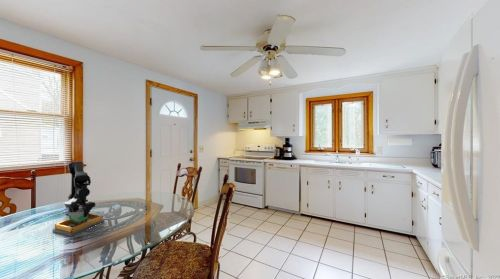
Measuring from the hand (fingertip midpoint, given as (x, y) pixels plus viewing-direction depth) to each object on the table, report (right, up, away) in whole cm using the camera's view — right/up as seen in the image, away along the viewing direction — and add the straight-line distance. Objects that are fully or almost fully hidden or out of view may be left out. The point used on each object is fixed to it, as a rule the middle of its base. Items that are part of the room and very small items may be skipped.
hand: (80, 216), depth 133 cm
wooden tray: (0, -8, 0) cm, 8 cm away
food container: (+1, -6, 0) cm, 6 cm away
